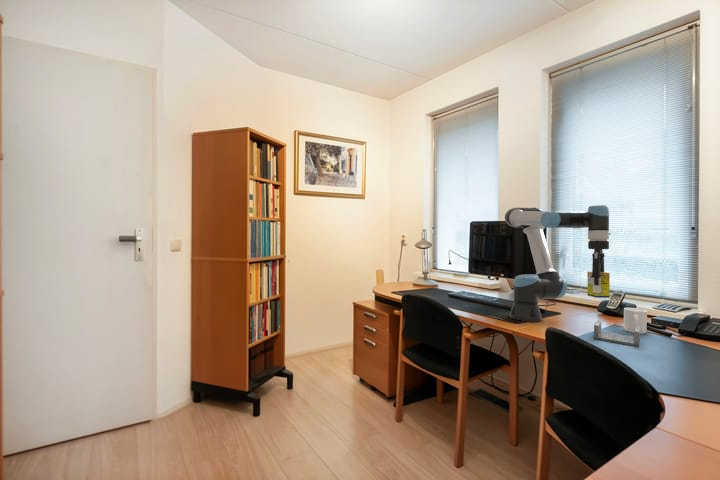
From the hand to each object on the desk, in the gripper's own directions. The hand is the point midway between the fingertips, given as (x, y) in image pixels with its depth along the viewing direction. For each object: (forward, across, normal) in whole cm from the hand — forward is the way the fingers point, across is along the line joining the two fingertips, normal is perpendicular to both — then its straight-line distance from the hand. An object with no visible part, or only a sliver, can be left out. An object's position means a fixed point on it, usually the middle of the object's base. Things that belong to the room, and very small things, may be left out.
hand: (598, 291), depth 147 cm
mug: (+20, +20, -11) cm, 31 cm away
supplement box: (+2, 0, 0) cm, 2 cm away
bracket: (+20, +1, -6) cm, 21 cm away
